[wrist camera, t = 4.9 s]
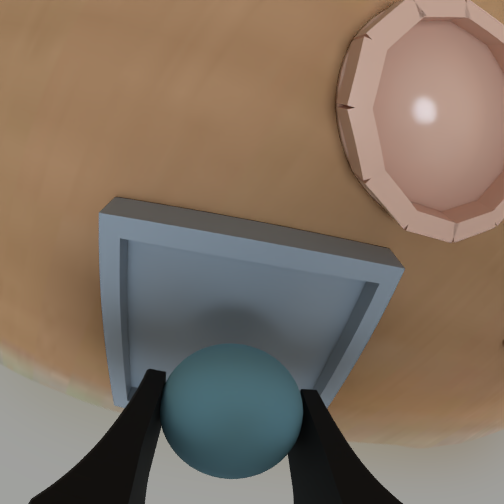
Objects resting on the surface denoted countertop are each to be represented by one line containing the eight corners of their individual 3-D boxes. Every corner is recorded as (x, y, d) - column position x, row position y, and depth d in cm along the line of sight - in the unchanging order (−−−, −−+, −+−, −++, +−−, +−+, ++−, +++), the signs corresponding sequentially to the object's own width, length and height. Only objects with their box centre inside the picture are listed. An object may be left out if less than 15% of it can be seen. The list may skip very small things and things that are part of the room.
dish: (532, 68, 8) (556, 72, 7) (481, 242, 13) (500, 258, 11) (363, -35, 7) (380, -50, 6) (306, 194, 12) (315, 210, 10)
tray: (389, 248, 13) (405, 268, 11) (308, 409, 18) (311, 430, 16) (115, 196, 11) (99, 212, 10) (121, 383, 16) (114, 405, 15)
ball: (312, 327, 12) (341, 443, 7) (271, 403, 14) (280, 498, 10) (178, 301, 11) (152, 423, 7) (165, 385, 13) (148, 484, 9)
